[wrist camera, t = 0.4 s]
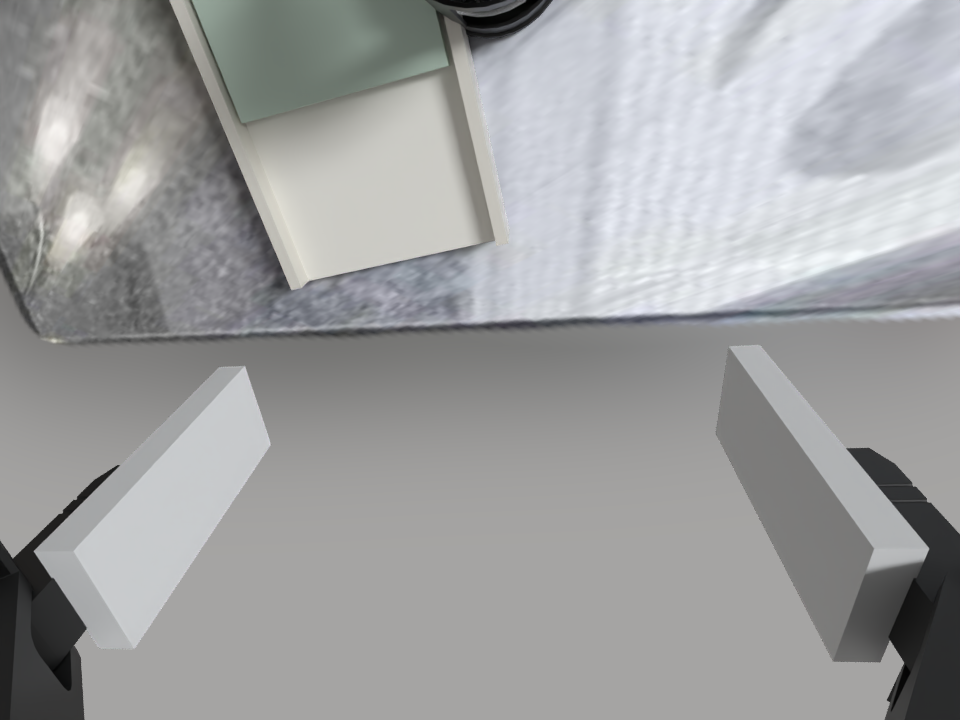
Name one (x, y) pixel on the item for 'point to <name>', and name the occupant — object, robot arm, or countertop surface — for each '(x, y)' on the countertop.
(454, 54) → the housing
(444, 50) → the lid
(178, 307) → the countertop surface
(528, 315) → the countertop surface
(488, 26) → the french press
